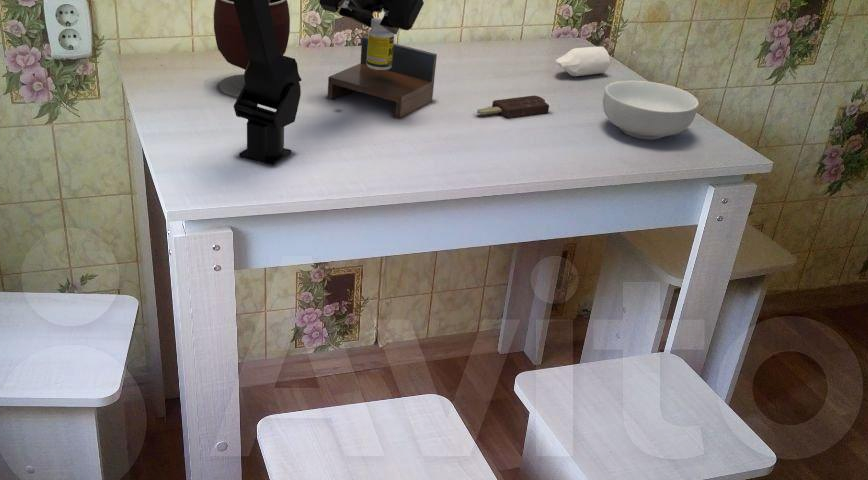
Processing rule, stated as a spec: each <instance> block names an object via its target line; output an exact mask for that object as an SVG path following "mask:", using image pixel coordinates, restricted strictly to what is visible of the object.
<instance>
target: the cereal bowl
mask: <svg viewBox="0 0 868 480" xmlns="http://www.w3.org/2000/svg"><path fill="white" fill-rule="evenodd" d="M602 109H603V112H604V115H605V116H606V118H607V119H608V120H609V121H610V122H611V123H612V124H613V125H614V126H616V127H618V128H619V129H620V130H621V131H622V132H623V133H624V134H626V135H627V136H629V137H632V138H637V139H639V140H641V139H642V140H649V141H650V140H652V141H653V140H659V139H663V138H665V137H670V136H674V135H677V134H680V133H682V132H683V131H685V130H686V129H687V128H688V127H690V125H691V124H692V123H693V122H694V120H695V117H696V115H697V113H698V109H699V100H698V98H697V97H696V96H695V95H693V94H691V93H690V92H688V91H686V90H685V89H682V88H679V87H677V86H673V85H669V84H665V83H660V82H654V81H646V80H631V79H629V80H619V81H613V82H611V83H608V84H607V85H606V86H605V88H604V92H603V97H602Z"/></svg>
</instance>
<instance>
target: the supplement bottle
mask: <svg viewBox="0 0 868 480" xmlns="http://www.w3.org/2000/svg"><path fill="white" fill-rule="evenodd" d="M382 19H383V17H374V18H373V19H372V20H371V28H370V29H369V31H368V34H367V35H368V36H367V37H368V48H367V62H366V65H367V66H368V67H369V68H371V69H374V70H388V69H390V68H391V67H392V57H393V44H395V34H393V33H392V32H390V31H389V30H387V29H386V28H384V27H382V26H381V25H380V23H381V21H382Z"/></svg>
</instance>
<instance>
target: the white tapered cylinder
mask: <svg viewBox="0 0 868 480" xmlns="http://www.w3.org/2000/svg"><path fill="white" fill-rule="evenodd" d="M555 62H556V64H557V65H558V66H559V68H561V69H563V70H564V71H565V72H566V73H568V74H569V76H572V77H583V76H591V75H599V74H604V73H605V72H606V71H608V70H609V68H610V65H611V57H610V54H609V52H608V50H607V49H606V48H605V47H604V46H587V47H575V48H572V49H570V50H569V51H567V52H566V53H564V54H563V55H562V56H560V57H558V58H556V59H555Z"/></svg>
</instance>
